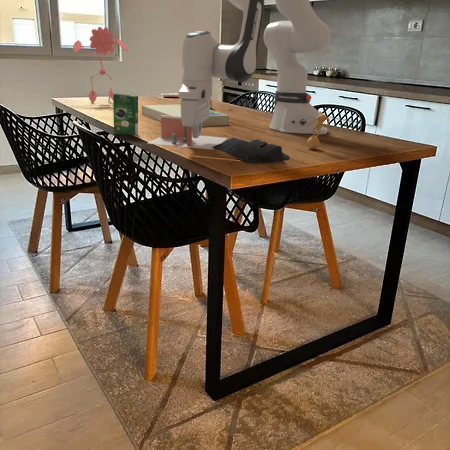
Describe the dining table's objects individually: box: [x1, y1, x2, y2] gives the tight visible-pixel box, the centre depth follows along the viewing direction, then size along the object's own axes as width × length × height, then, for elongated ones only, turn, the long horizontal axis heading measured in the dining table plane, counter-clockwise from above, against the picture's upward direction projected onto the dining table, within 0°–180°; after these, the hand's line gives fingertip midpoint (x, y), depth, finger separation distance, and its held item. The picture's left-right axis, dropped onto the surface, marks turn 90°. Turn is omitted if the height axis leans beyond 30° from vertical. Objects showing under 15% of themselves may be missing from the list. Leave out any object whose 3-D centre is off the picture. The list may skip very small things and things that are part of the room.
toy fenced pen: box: [147, 134, 229, 151], centre depth 147 cm, size 21×20×4 cm
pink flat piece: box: [160, 115, 193, 140], centre depth 148 cm, size 10×2×7 cm, turn 77°
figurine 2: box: [306, 111, 330, 150], centre depth 143 cm, size 8×6×12 cm
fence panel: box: [187, 127, 191, 145], centre depth 142 cm, size 9×1×7 cm, turn 4°
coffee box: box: [112, 93, 139, 136], centre depth 151 cm, size 8×3×13 cm, turn 75°
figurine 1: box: [72, 26, 129, 107], centre depth 220 cm, size 15×26×35 cm, turn 125°
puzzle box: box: [141, 103, 230, 127], centre depth 191 cm, size 36×5×24 cm
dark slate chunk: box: [212, 137, 290, 165], centre depth 134 cm, size 15×22×5 cm
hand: (196, 137), depth 140 cm, fingers closed
